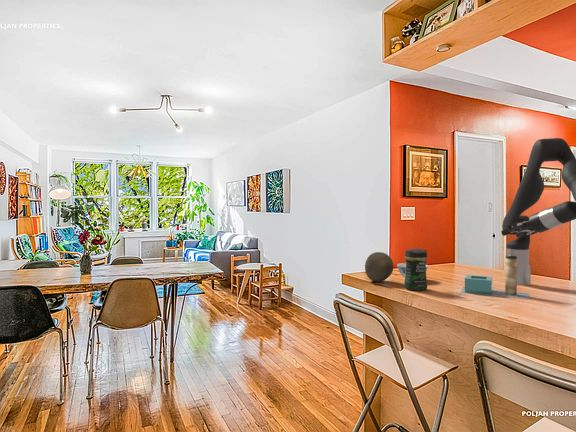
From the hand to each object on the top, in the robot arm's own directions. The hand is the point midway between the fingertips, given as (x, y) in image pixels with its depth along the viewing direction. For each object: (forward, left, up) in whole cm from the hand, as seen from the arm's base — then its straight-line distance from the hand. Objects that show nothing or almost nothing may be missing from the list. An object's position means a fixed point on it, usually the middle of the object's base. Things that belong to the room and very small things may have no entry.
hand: (509, 234), depth 154 cm
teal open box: (+8, -8, -26) cm, 28 cm away
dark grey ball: (+36, -44, -26) cm, 63 cm away
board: (+4, -4, -26) cm, 26 cm away
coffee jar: (+28, -24, -26) cm, 45 cm away
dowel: (-1, 0, -25) cm, 25 cm away
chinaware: (+17, -44, -26) cm, 54 cm away
